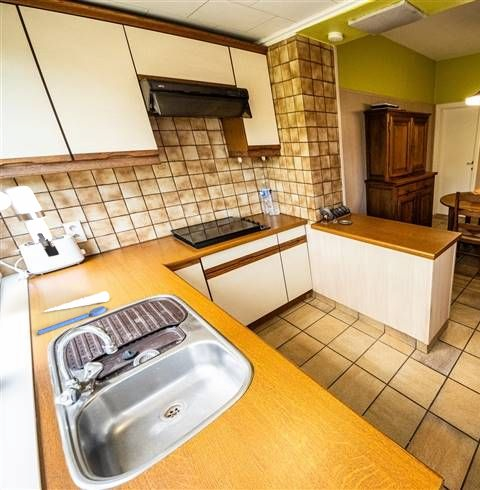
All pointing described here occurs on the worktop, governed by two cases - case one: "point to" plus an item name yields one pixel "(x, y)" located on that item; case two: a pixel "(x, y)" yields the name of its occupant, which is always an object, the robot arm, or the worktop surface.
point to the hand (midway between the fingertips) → (54, 255)
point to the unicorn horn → (83, 301)
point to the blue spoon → (74, 319)
